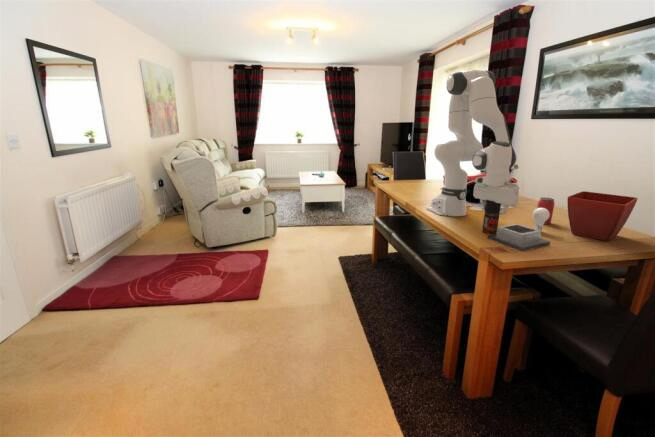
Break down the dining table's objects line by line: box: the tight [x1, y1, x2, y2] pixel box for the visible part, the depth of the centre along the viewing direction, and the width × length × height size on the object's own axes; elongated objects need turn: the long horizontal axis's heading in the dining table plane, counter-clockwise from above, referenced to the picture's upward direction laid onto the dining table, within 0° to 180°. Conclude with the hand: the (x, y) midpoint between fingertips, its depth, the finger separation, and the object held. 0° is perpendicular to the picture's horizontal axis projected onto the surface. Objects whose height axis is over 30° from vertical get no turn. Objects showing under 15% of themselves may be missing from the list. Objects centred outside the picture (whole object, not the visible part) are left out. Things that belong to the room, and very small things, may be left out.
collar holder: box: [486, 223, 551, 252], centre depth 131 cm, size 16×16×6 cm
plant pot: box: [567, 190, 639, 242], centre depth 136 cm, size 19×19×17 cm
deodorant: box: [481, 200, 502, 235], centre depth 141 cm, size 6×6×15 cm
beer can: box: [536, 196, 555, 225], centre depth 155 cm, size 7×7×12 cm
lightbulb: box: [532, 207, 550, 232], centre depth 142 cm, size 6×6×11 cm
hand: (492, 211), depth 140 cm, fingers open, 8 cm apart
